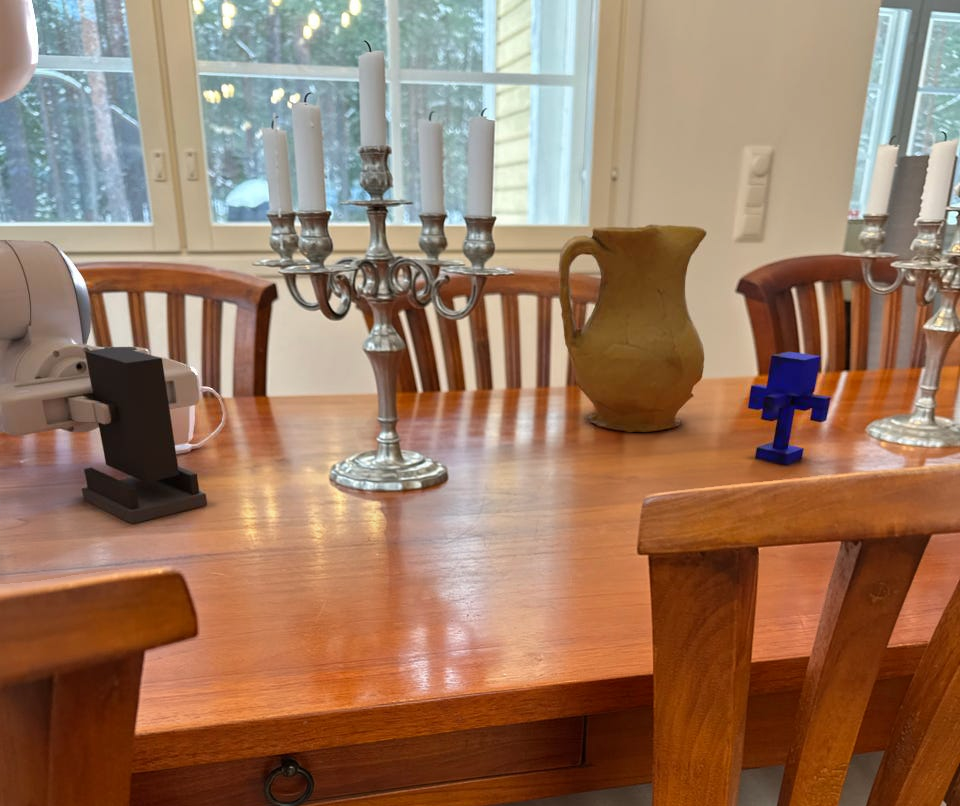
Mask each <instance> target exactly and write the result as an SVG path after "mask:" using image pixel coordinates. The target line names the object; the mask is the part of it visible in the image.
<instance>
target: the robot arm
mask: <svg viewBox="0 0 960 806" xmlns="http://www.w3.org/2000/svg"><path fill="white" fill-rule="evenodd" d="M37 29H38V28H37V22H36V16H35V11H34V6H33V0H0V104H1V103H4V102H6V101H8V100H10V99H12V98H14V97H15V96H16V95H18V94H19V93H20V92H21V91H23V89H25V88H26V86H27V85H28V84H29V83H30V81H31V80H32V78H33V76H34V74H35V72H36V69H37V66H38V64H39V38H38V30H37ZM91 307H92V306H91V301H90V296H89V291H88V288H87V285H86V282H85V279H84V277H83V276H82V274H81V272H80V271H79V270H78V268H77V267H76V266H75V265H74V263H73V262H72V261H71V259H70V258H69V257H68V256H67V255H66V254H65V253H64V252H63V251H62V249H60V248H59V247H58V246H56V245H55V244H53V243H51V242H50V241H48V240H43V241H42V240H23V239H22V240H21V239H19V240H16V239H8V240H7V239H0V431H1V432H3V433H4V434H6V435H8V436H27V435H33V434H38V433H44V432H49V431H55V430H63V431H66V432H70V433H75V434H76V433H88V432H91V431H94V430H96V429H98V428H99V424H98V422H99V423H102V424H110V423H115V422H119V420H120V418H119V414H118V407H117V405H116V403H114V402H111V401H102V402H100V401H94V397H93V389H92V386H91V381H90V376H89V370H88V365H87V360H86V354H85V351H90V350H98V349H106V348H114V347H115V346H104V347H103V346H96V345H90V344H88V340H89V337H90V334H91V329H92V310H91V309H92V308H91ZM121 347H122V348H126V349H129V350H133V351H137V352H141V353H144V354H148V355H151V354H150V351H149V349H147V348H145V347H141V346H121ZM155 356H156V357H159V358H162V362H163V369H164V375H165V382H166V389H167V396H168V402H169V409H175V408H181V407H187V406H193V405H195V406H197V405H198V404H200V402H201V400H202V392H201V388H200V387H201V382H200V381H201V380H200V377H199V374H198V371H197V370H196V369H195V368H194V367H192V366H190V365H188V364H185V363H183V362H179V361H177V360H175V359H171V358H167V357H165V356H164V357H163V356H158V355H155Z"/></svg>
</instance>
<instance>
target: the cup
mask: <svg viewBox="0 0 960 806" xmlns="http://www.w3.org/2000/svg"><path fill="white" fill-rule="evenodd" d="M200 388H201V393H205V392H209V393H212V394H213V395H214V396H215V397H216V398H217V399H218V402H219V404H220V407H221V411H222V418H221V422H220V424H219V425H218V426H217V428H215V430H214V431H212V432H211V433H210V434H209V435H208V436H207V437H205V439H203V440H201V441H199V442H198V443H193V444H191V443H190V441H192V440H193V436H194V430H195V423H196V405H193V406H187V407H181V408H175V409H170V416H171V423H172V429H173V436H174V443H175V450H176V455H181V454H185V453H189V452H191V450H195V449H199V448H202V447H203V446H205V445H206V444H208V443H209V442H210V441H212V440H213V439H214V438H215V437H216V436H217V435H218V434H220V432H221V431H222V430H223V428H224V427H225V425H226V421H227V412H226V407H225V404H224V402H223V399H222V396H220V394H219V393H218V392H217V391H216V390H215V389H214V388H211V387H209V386H200Z"/></svg>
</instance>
